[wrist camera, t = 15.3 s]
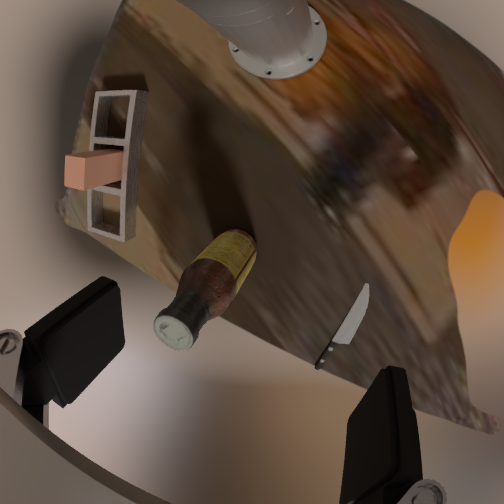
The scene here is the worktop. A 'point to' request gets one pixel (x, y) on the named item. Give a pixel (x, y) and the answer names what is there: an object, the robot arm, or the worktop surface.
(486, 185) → the worktop surface
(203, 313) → the sauce bottle
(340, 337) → the chef's knife
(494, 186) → the worktop surface
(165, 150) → the worktop surface
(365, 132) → the worktop surface
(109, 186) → the hole rail
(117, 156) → the square peg
